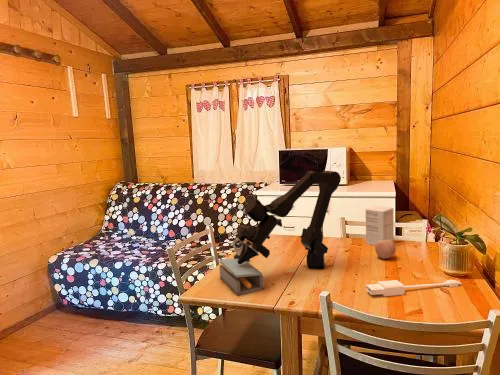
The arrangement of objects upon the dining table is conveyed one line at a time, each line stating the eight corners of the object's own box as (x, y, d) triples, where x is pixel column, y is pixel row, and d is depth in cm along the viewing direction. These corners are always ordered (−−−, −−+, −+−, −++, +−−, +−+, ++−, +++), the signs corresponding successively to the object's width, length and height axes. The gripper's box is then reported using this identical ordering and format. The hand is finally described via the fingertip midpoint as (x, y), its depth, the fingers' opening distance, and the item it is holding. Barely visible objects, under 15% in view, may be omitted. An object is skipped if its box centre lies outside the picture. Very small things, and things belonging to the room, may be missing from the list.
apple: (392, 255, 153) (392, 236, 151) (398, 261, 145) (398, 242, 144) (373, 255, 153) (373, 237, 152) (377, 261, 146) (377, 242, 145)
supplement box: (376, 239, 176) (376, 205, 174) (394, 242, 169) (394, 207, 166) (365, 243, 170) (364, 208, 168) (383, 247, 163) (383, 211, 160)
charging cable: (465, 290, 118) (465, 281, 118) (372, 298, 114) (372, 288, 114) (454, 284, 123) (455, 275, 123) (365, 291, 119) (365, 281, 119)
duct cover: (242, 260, 141) (242, 258, 141) (261, 275, 125) (261, 273, 125) (219, 261, 137) (219, 259, 137) (236, 277, 121) (236, 275, 121)
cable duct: (244, 272, 142) (243, 260, 141) (263, 289, 126) (262, 275, 125) (220, 278, 138) (219, 265, 137) (237, 295, 122) (236, 281, 121)
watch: (232, 264, 152) (230, 239, 151) (239, 258, 160) (237, 234, 158) (244, 265, 150) (243, 240, 149) (251, 259, 158) (249, 234, 156)
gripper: (239, 212, 139) (214, 244, 136) (259, 221, 122) (231, 258, 119) (259, 228, 143) (235, 260, 140) (281, 239, 126) (254, 276, 123)
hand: (238, 263), depth 131 cm, fingers closed
